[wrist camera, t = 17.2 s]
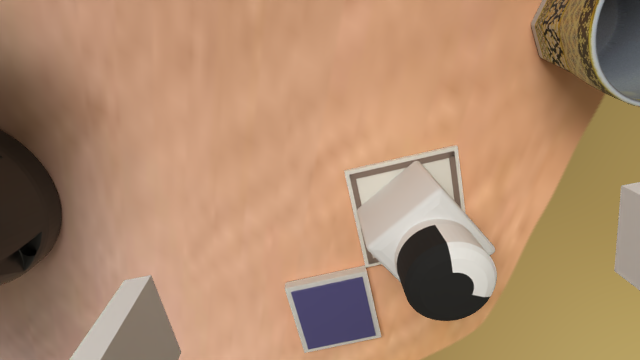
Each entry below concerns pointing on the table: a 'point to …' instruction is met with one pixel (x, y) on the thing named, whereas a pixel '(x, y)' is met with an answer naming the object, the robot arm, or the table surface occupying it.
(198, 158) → the table surface
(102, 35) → the table surface
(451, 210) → the medicine bottle
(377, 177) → the print card
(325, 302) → the ink pad
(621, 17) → the ceramic cup
